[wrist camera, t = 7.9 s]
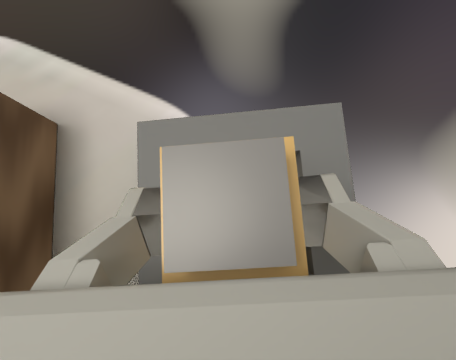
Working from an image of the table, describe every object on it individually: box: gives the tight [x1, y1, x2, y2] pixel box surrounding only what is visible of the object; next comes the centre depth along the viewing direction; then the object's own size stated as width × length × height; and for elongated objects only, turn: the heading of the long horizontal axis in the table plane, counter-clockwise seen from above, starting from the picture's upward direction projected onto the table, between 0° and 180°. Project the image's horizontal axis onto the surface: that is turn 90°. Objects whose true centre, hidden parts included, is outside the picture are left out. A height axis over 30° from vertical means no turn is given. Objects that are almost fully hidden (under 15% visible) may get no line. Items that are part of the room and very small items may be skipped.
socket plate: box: [137, 103, 355, 285], centre depth 16 cm, size 12×12×2 cm
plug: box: [160, 136, 309, 283], centre depth 11 cm, size 4×4×8 cm
